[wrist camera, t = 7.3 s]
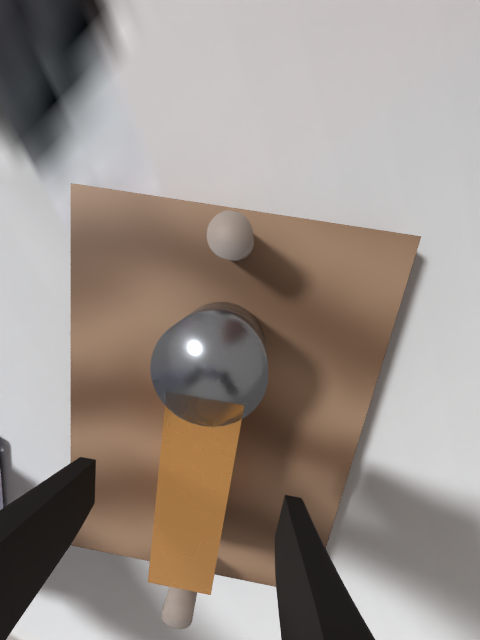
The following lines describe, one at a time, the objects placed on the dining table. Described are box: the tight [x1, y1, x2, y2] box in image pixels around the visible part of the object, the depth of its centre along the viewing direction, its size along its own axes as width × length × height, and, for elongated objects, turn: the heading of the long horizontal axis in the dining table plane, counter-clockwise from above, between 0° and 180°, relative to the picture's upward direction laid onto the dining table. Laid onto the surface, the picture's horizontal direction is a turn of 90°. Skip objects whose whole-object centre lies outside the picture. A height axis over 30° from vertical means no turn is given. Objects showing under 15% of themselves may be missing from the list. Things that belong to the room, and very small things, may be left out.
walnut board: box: [71, 183, 421, 629], centre depth 13 cm, size 22×16×4 cm
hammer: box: [148, 302, 268, 595], centre depth 12 cm, size 13×4×4 cm, turn 171°
